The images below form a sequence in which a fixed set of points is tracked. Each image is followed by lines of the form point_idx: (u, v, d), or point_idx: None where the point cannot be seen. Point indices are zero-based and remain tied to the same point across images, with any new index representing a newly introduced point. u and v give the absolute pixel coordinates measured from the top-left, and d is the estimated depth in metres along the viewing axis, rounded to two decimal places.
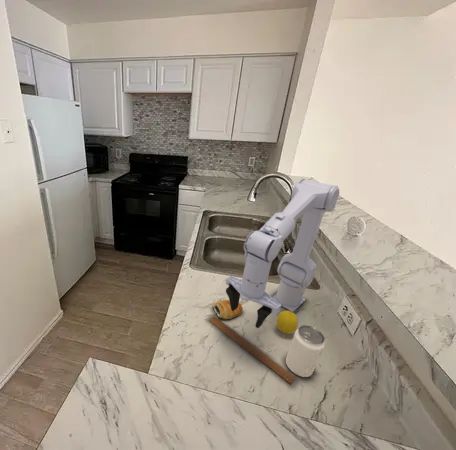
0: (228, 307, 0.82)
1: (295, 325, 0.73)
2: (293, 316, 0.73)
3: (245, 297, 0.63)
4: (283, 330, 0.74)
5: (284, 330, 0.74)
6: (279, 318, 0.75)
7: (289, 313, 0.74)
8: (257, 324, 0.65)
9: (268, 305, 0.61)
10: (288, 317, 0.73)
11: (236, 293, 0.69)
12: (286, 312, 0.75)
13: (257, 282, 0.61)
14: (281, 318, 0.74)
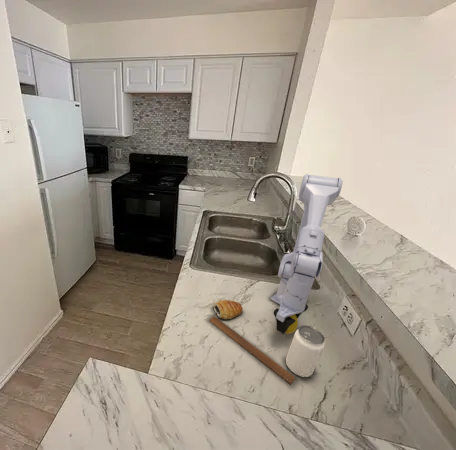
0: (228, 307, 0.82)
1: (295, 325, 0.73)
2: (293, 316, 0.73)
3: (280, 297, 0.75)
4: None
5: None
6: None
7: None
8: None
9: (279, 309, 0.70)
10: None
11: None
12: None
13: (305, 296, 0.68)
14: None
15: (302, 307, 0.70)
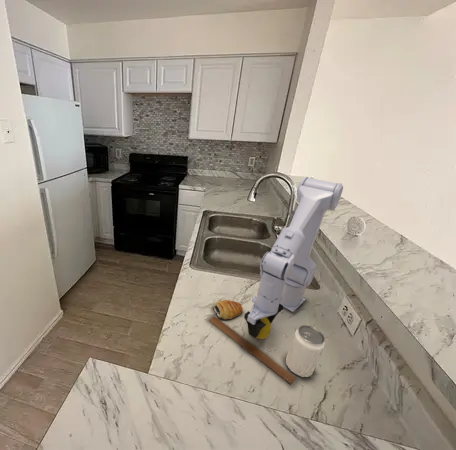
0: (228, 307, 0.82)
1: (267, 330, 0.71)
2: (266, 321, 0.72)
3: (253, 298, 0.73)
4: None
5: (257, 336, 0.72)
6: None
7: (262, 318, 0.72)
8: None
9: (251, 312, 0.68)
10: None
11: None
12: None
13: (273, 298, 0.66)
14: None
15: (274, 309, 0.68)
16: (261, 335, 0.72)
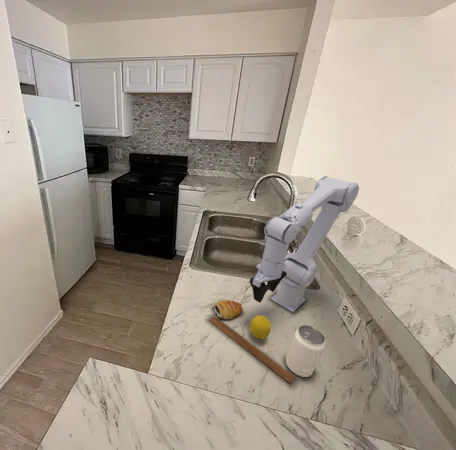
0: (228, 307, 0.82)
1: (267, 330, 0.71)
2: (266, 321, 0.72)
3: (258, 265, 0.77)
4: (256, 335, 0.73)
5: (257, 336, 0.72)
6: (252, 323, 0.73)
7: (262, 318, 0.72)
8: None
9: (256, 276, 0.72)
10: (260, 322, 0.71)
11: None
12: (259, 317, 0.73)
13: (274, 262, 0.70)
14: (254, 323, 0.73)
15: (278, 273, 0.72)
16: (261, 335, 0.72)
